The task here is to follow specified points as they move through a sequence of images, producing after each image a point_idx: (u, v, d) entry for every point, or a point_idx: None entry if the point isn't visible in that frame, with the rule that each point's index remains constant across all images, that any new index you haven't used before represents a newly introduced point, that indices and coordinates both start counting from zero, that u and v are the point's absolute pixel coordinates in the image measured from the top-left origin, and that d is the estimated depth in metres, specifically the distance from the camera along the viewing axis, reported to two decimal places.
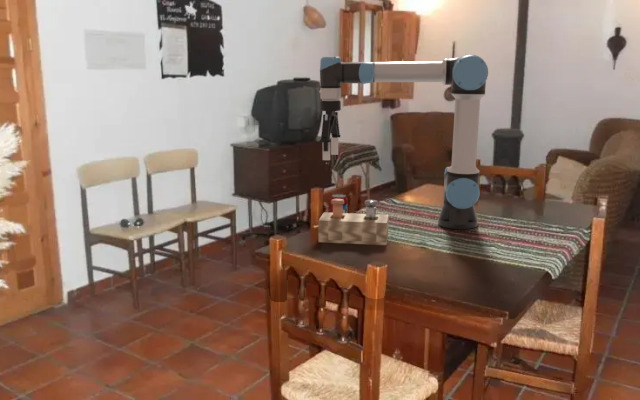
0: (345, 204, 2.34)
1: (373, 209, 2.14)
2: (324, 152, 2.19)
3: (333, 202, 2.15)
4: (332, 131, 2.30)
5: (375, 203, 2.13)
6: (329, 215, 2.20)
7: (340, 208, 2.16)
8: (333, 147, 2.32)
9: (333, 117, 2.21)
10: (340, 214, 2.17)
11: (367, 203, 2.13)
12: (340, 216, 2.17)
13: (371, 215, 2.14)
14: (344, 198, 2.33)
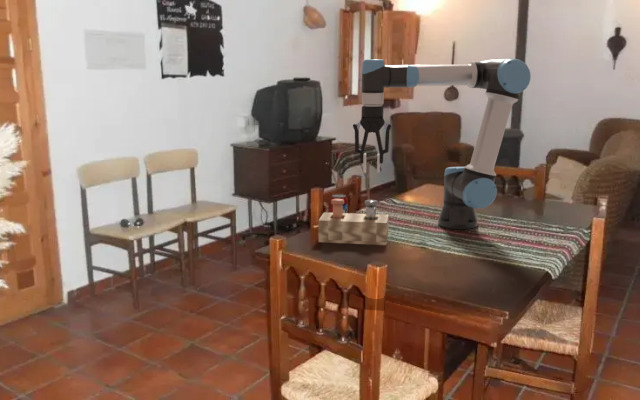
0: (345, 204, 2.34)
1: (373, 209, 2.14)
2: None
3: (333, 202, 2.15)
4: None
5: (375, 203, 2.13)
6: (329, 215, 2.20)
7: (340, 208, 2.16)
8: None
9: (366, 124, 2.08)
10: (340, 214, 2.17)
11: (367, 203, 2.13)
12: (340, 216, 2.17)
13: (371, 215, 2.14)
14: (344, 198, 2.33)
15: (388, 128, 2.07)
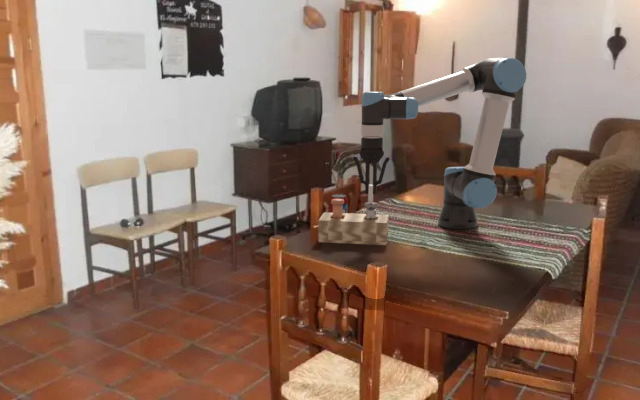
0: (345, 204, 2.34)
1: (373, 211, 2.14)
2: None
3: (333, 202, 2.15)
4: None
5: (375, 205, 2.14)
6: (329, 215, 2.20)
7: (340, 208, 2.16)
8: None
9: (365, 156, 2.10)
10: (340, 214, 2.17)
11: (367, 205, 2.14)
12: (340, 216, 2.17)
13: (371, 217, 2.14)
14: (344, 198, 2.33)
15: (386, 161, 2.10)
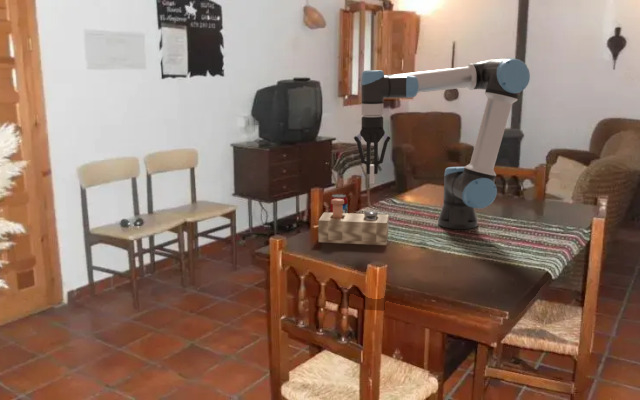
0: (345, 204, 2.34)
1: None
2: None
3: (333, 202, 2.15)
4: None
5: (375, 214, 2.14)
6: (329, 215, 2.20)
7: (340, 208, 2.16)
8: None
9: None
10: (340, 214, 2.17)
11: (367, 214, 2.14)
12: (340, 216, 2.17)
13: None
14: (344, 198, 2.33)
15: (387, 140, 2.08)
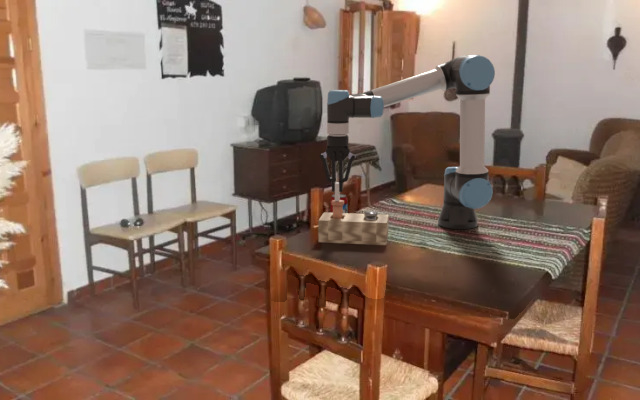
0: (345, 204, 2.34)
1: None
2: None
3: (333, 203, 2.16)
4: None
5: (375, 214, 2.14)
6: (329, 215, 2.20)
7: (340, 209, 2.16)
8: None
9: (331, 154, 2.12)
10: (340, 215, 2.17)
11: (367, 214, 2.14)
12: (340, 217, 2.17)
13: None
14: (344, 198, 2.33)
15: (351, 159, 2.12)
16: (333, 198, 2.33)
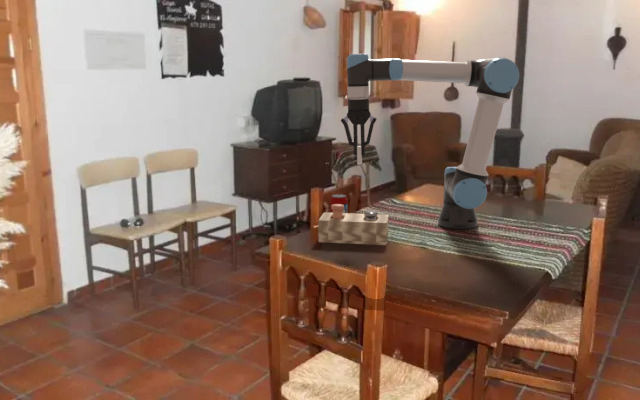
0: (345, 204, 2.34)
1: None
2: None
3: (333, 207, 2.16)
4: None
5: (375, 214, 2.14)
6: (329, 215, 2.20)
7: (340, 213, 2.17)
8: None
9: (353, 117, 2.15)
10: None
11: (367, 214, 2.14)
12: None
13: None
14: (344, 198, 2.33)
15: (373, 121, 2.15)
16: (333, 198, 2.33)
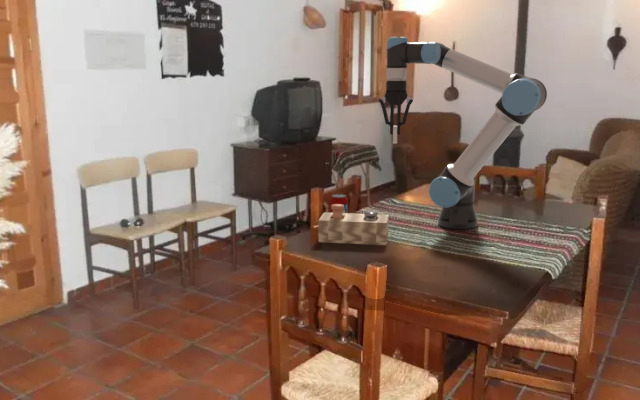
0: (345, 204, 2.34)
1: None
2: None
3: (333, 207, 2.16)
4: None
5: (375, 214, 2.14)
6: (329, 215, 2.20)
7: (340, 213, 2.17)
8: None
9: (390, 98, 2.25)
10: None
11: (367, 214, 2.14)
12: None
13: None
14: (344, 198, 2.33)
15: (409, 102, 2.25)
16: (333, 198, 2.33)
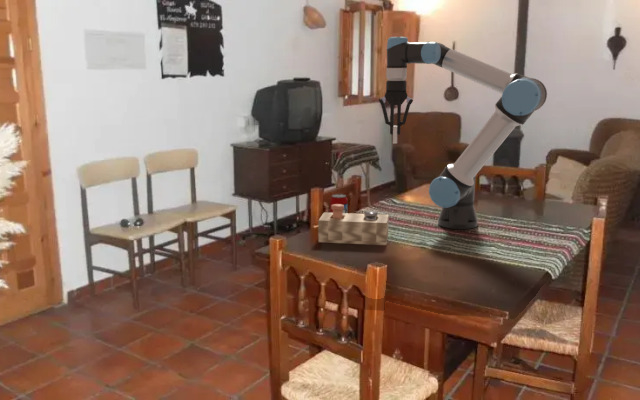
0: (345, 204, 2.34)
1: None
2: None
3: (333, 207, 2.16)
4: None
5: (375, 214, 2.14)
6: (329, 215, 2.20)
7: (340, 213, 2.17)
8: None
9: (390, 98, 2.25)
10: None
11: (367, 214, 2.14)
12: None
13: None
14: (344, 198, 2.33)
15: (409, 102, 2.25)
16: (333, 198, 2.33)
